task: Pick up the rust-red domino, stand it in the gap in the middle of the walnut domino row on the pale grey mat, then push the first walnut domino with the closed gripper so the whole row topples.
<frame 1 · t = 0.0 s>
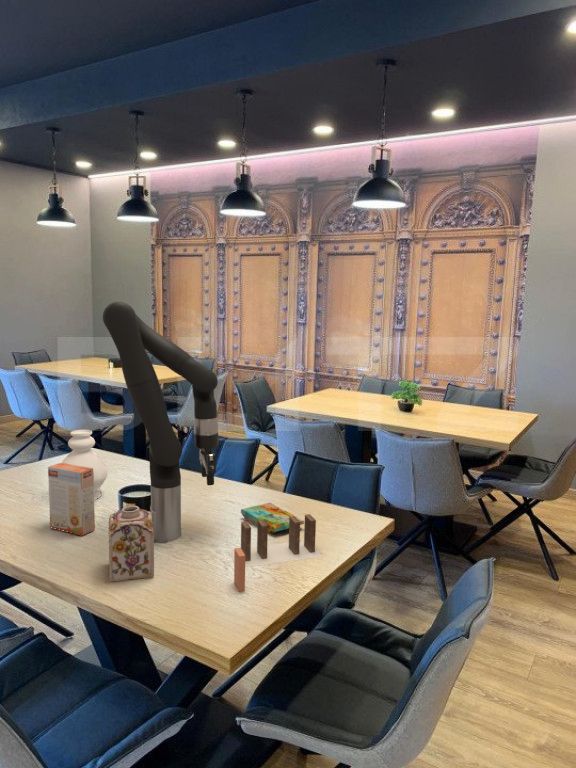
hand: (207, 480, 180), 17 cm above the table, tool pointing down, fingers open, 8 cm apart
puzzle game: (271, 526, 190), on the table
decorative vase: (83, 497, 212), on the table
domino 1: (245, 557, 164), resting on mat
domino 4: (293, 550, 169), resting on mat
decorative jar: (131, 571, 156), on the table
domino 2: (262, 555, 166), resting on mat
cracker box: (72, 530, 182), on the table
mat: (274, 554, 167), on the table
domino 5: (309, 548, 171), resting on mat
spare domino: (239, 588, 148), on the table
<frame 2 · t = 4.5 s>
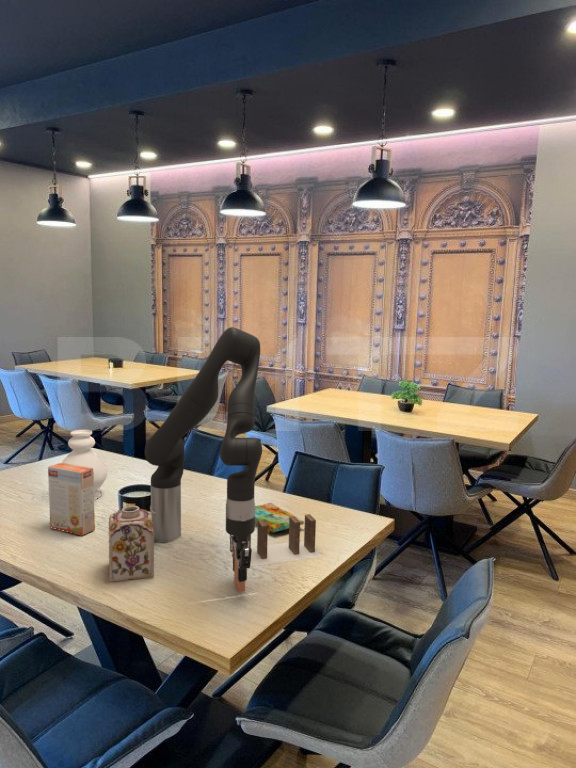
hand: (239, 575, 147), 3 cm above the table, tool pointing down, fingers closed on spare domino, 5 cm apart
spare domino: (239, 587, 148), on the table, touching gripper
everything else where it was.
when the fingers open (5 cm above the table, at t = 11.9 s): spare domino stays where it is, resting on mat.
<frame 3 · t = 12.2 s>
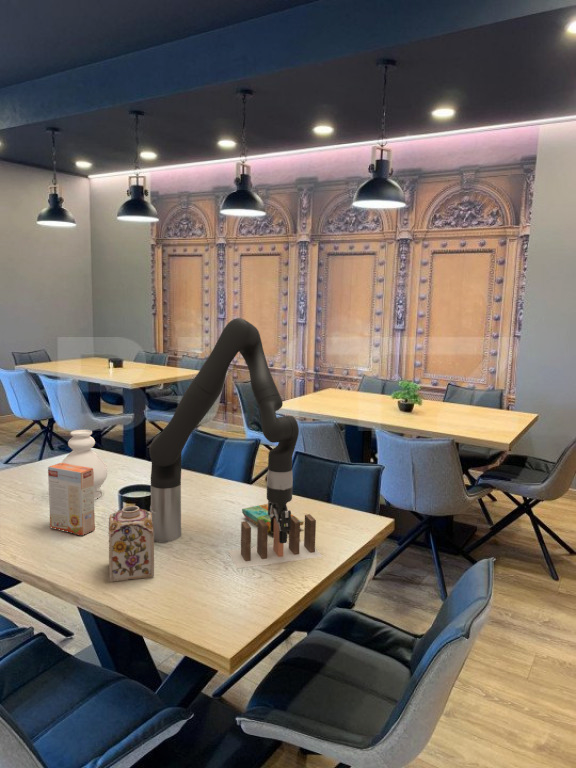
hand: (278, 536, 167), 5 cm above the table, tool pointing down, fingers open, 8 cm apart
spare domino: (278, 552, 168), resting on mat
everything else where it was.
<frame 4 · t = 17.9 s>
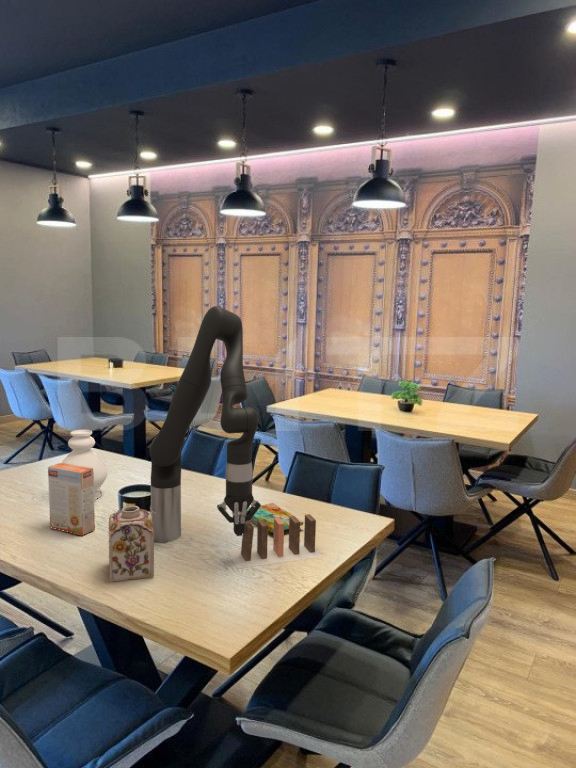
hand: (238, 534, 162), 8 cm above the table, tool pointing down, fingers closed
nothing on the table moved.
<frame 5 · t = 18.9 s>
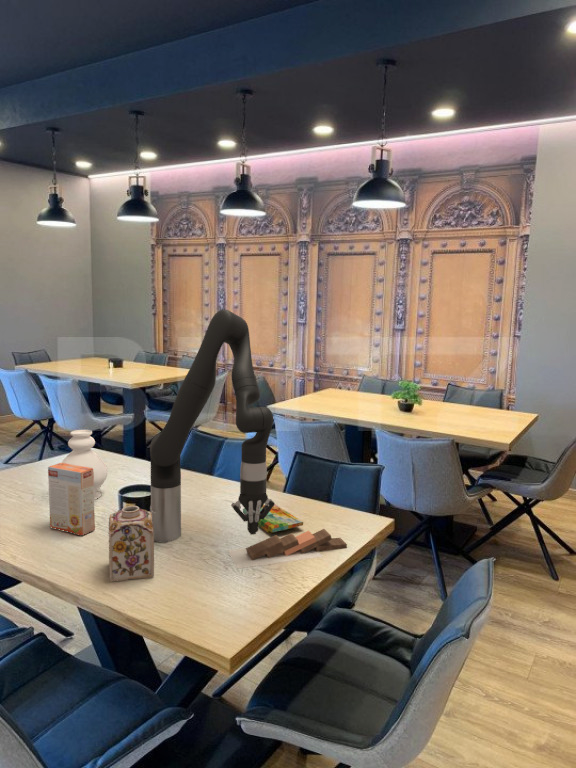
hand: (252, 533, 164), 8 cm above the table, tool pointing down, fingers closed
domino 1: (248, 554, 165), point 1 cm above the table, tilted 72°, touching domino 2
domino 4: (298, 547, 170), point 1 cm above the table, tilted 71°, touching domino 5, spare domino
domino 2: (264, 552, 166), point 1 cm above the table, tilted 72°, touching domino 1, mat, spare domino
domino 5: (313, 545, 171), point 1 cm above the table, tilted 93°, touching domino 4, mat
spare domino: (282, 549, 168), point 1 cm above the table, tilted 71°, touching domino 2, domino 4, mat
everything else where it was.
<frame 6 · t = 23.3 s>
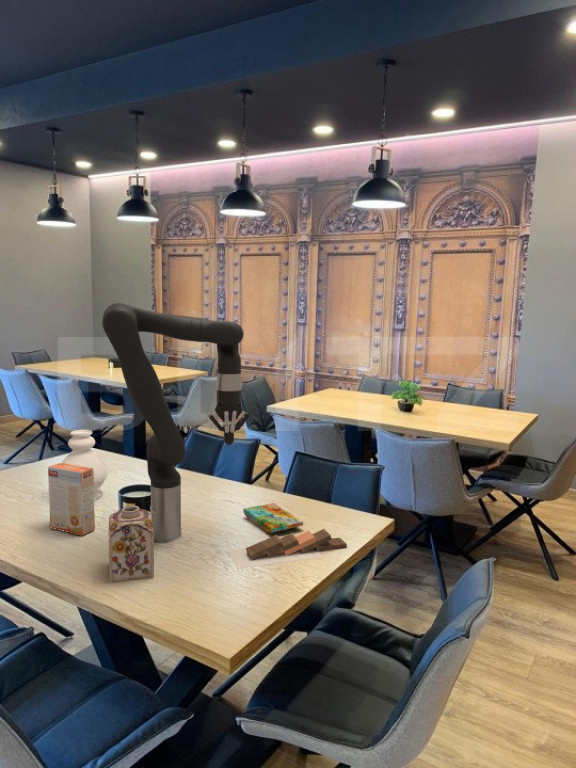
hand: (228, 443, 172), 31 cm above the table, tool pointing down, fingers closed
nothing on the table moved.
at the end: domino 5 tilted 92°; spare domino tilted 71° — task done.
